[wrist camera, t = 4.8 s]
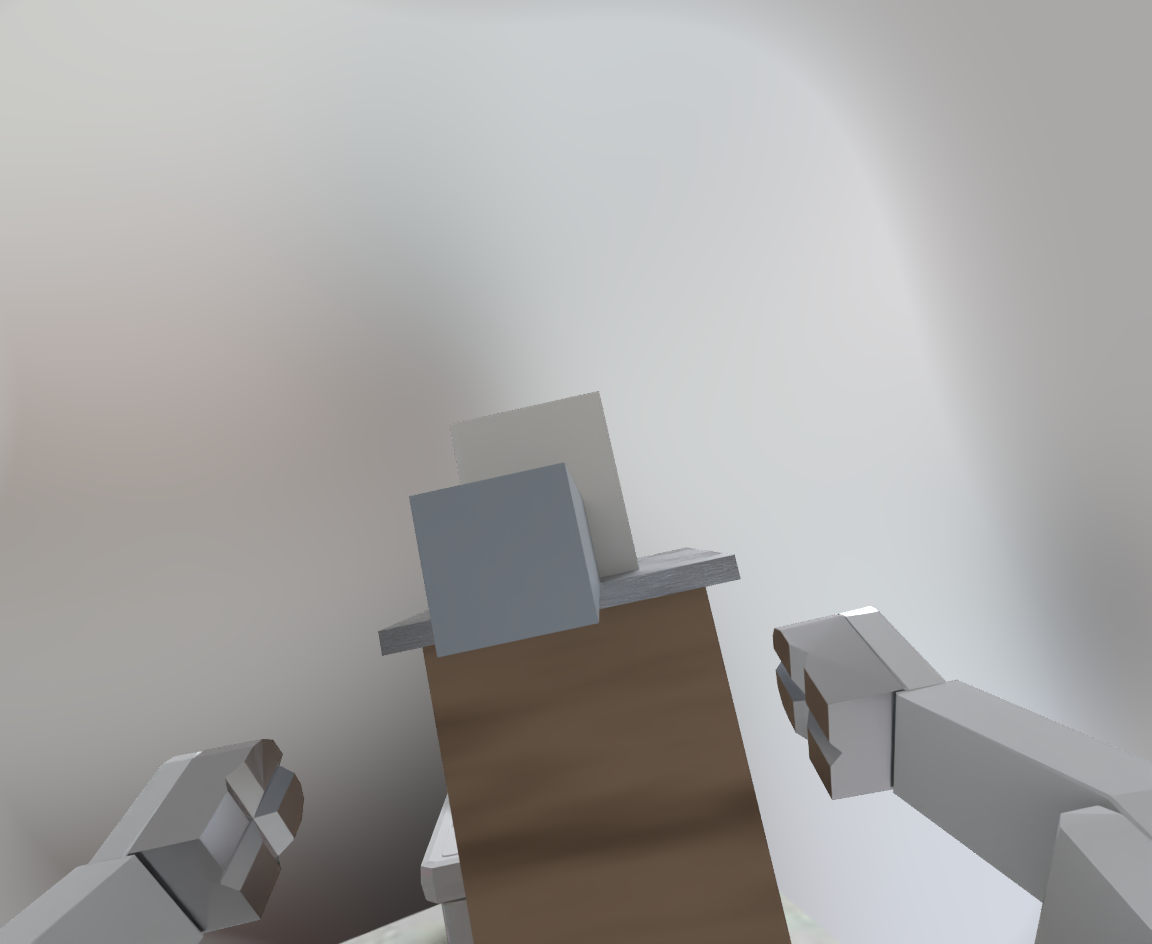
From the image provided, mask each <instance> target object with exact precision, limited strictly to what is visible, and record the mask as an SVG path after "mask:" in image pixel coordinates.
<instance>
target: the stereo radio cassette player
mask: <svg viewBox="0 0 1152 944" xmlns="http://www.w3.org/2000/svg"><path fill="white" fill-rule="evenodd" d="M421 885H422V888H423V891H424V894H425V897H426V900H428V901H431V902H434V903H441V904H442V910H443V916H444V922H445V928H446V934H447V940H448V944H474V942H473V937H472V931H471V925H470V919H469V913H468V908H467V902H466V896H465V890H464V885H463V879H462V873H461V867H460V861H459V856H458V850H457V844H456V838H455V832H454V827H453V821H452V815H451V809H450V804H449V798H448V794H447V797H446V800H445V802H444V805H443V808H442V811H441V813H440V816H439V818H438V821H437V824H436V827H435V829H434V832H433V835H432V838H431V840H430V843H429V846H428V848H427V851H426V854H425V856H424V859H423V862H422V865H421Z"/></svg>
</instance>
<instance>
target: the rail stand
mask: <svg viewBox="0 0 1152 944" xmlns="http://www.w3.org/2000/svg"><path fill="white" fill-rule="evenodd" d="M637 562H638V566H639V569H638V570H633V571H629V572H624V573H619V574H615V575H610V576H605V577H601V578H600V597H599V623H597V624H592V625H587V626H583V627H578V628H573V629H569V630H564V631H559V632H555V633H550V634H545V635H541V636H536V637H531V638H527V639H522V640H517V641H512V642H508V643H503V644H498V645H494V646H489V647H484V648H480V649H475V650H470V651H466V652H461V653H456V654H452V655H447V656H442V657H437V652H436V647H435V641H434V635H433V630H432V624H431V618H430V613H429V610H426V611H424V612H422V613H419V614H417V615H415V616H412V617H410V618H408V619H405V620H403V621H401V622H399V623H396V624H394V625H392V626H389V627H387V628H385V629H382V630H380V631H379V632H378V633H379V639H380V644H381V651H382V656H383V655H388V654H392V653H397V652H402V651H406V650H411V649H416V648H421V647H422V648H423V653H424V659H425V665H426V671H427V676H428V682H429V688H430V694H431V700H432V705H433V710H434V717H435V723H436V728H437V734H438V740H439V746H440V751H441V757H442V762H443V768H444V775H445V780H446V786H447V792H448V798H449V804H450V809H451V815H452V821H453V827H454V832H455V838H456V844H457V850H458V856H459V861H460V867H461V873H462V879H463V885H464V890H465V896H466V902H467V908H468V913H469V919H470V925H471V931H472V937H473V942H474V944H791V940H790V936H789V932H788V927H787V923H786V919H785V915H784V911H783V907H782V903H781V898H780V894H779V890H778V886H777V882H776V878H775V874H774V869H773V865H772V861H771V857H770V853H769V849H768V844H767V840H766V836H765V832H764V828H763V824H762V820H761V815H760V812H759V807H758V803H757V799H756V795H755V790H754V786H753V782H752V778H751V774H750V770H749V766H748V762H747V758H746V753H745V749H744V745H743V741H742V737H741V732H740V728H739V724H738V720H737V716H736V712H735V708H734V703H733V699H732V695H731V691H730V687H729V683H728V679H727V674H726V670H725V666H724V662H723V658H722V654H721V650H720V645H719V641H718V637H717V633H716V629H715V624H714V620H713V616H712V612H711V608H710V604H709V600H708V595H707V591H706V586H710V585H715V584H719V583H724V582H729V581H734V580H738V579H740V575H739V571H738V567H737V563H736V559H735V555H733V554H726V553H719V552H713V551H706V550H699V549H692V548H683V549H678V550H673V551H669V552H664V553H659V554H655V555H651V556H646V557H641V558H637Z"/></svg>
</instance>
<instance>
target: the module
mask: <svg viewBox="0 0 1152 944" xmlns="http://www.w3.org/2000/svg"><path fill="white" fill-rule="evenodd" d="M449 426H450V431H451V436H452V441H453V446H454V452H455V457H456V463H457V468H458V473H459V478H460V484H461V485H459V486H454V487H450V488H445V489H440V490H436V491H431V492H427V493H422V494H418V495H414V496H409V498H410V505H411V510H412V516H413V522H414V527H415V533H416V539H417V544H418V550H419V556H420V561H421V567H422V573H423V578H424V584H425V590H426V595H427V600H428V607H429V613H430V618H431V624H432V630H433V635H434V641H435V647H436V652H437V657H442V656H447V655H452V654H456V653H461V652H466V651H470V650H475V649H480V648H484V647H489V646H494V645H498V644H503V643H508V642H512V641H517V640H522V639H527V638H531V637H536V636H541V635H545V634H550V633H555V632H559V631H564V630H569V629H573V628H578V627H583V626H587V625H592V624H597V623H599V597H600V578H601V577H605V576H610V575H615V574H619V573H624V572H629V571H633V570H638V569H639V566H638V562H637V557H636V553H635V548H634V544H633V540H632V535H631V531H630V526H629V522H628V518H627V513H626V509H625V504H624V500H623V496H622V491H621V487H620V482H619V478H618V474H617V469H616V465H615V460H614V456H613V451H612V447H611V442H610V438H609V434H608V429H607V425H606V420H605V416H604V412H603V407H602V403H601V398H600V394H599V391H597V392H592V393H588V394H583V395H579V396H574V397H570V398H565V399H561V400H556V401H552V402H547V403H543V404H538V405H534V406H530V407H525V408H520V409H516V410H512V411H507V412H502V413H498V414H493V415H489V416H484V417H480V418H475V419H471V420H467V421H462V422H457V423H453V424H450V425H449Z"/></svg>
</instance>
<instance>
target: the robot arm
mask: <svg viewBox="0 0 1152 944" xmlns="http://www.w3.org/2000/svg"><path fill="white" fill-rule="evenodd" d="M773 644H774V649H775V651H776V653H777V655H778V656H779V658H780V660H781V663H780V665H779V666H778V668H777V669H776V676H777V684H778V689H779V693H780V696H781V700H782V704H783V706H784V709H785V711H786V714H787V716H788V718H789V720H790V722H791V724H792V726H793V728H794V730H795V732H796V733H798V734H799V735H801V736H802V737H804V738H806V739H807V740H808V745H809V758H810V760H811V762H812V764H813V765H814V767H815V769H816V771H817V773H818V775H819V777H820V778H821V780H822V782H823V784H824V786H825V788H826V790H827V791H828V793H829V795H830V797H831V799H832V800H836V799H841V798H847V797H853V796H858V795H864V794H869V793H875V792H881V791H886V790H891V789H893V792H894V794H896V795H897V796H899V797H900V798H901V799H903V800H904V801H905V802H907V803H908V804H909V805H911V806H912V807H913V808H915V809H916V810H918V811H919V812H920V813H922V814H923V815H924V816H926V817H927V818H928V819H930V820H931V821H932V822H934V823H935V824H937V825H938V826H939V827H941V828H942V829H943V830H945V831H946V832H947V833H949V834H950V835H952V836H953V837H954V838H955V839H957V840H959V841H960V842H961V843H962V844H964V845H965V846H966V847H968V848H969V849H970V850H972V851H973V852H974V853H976V854H977V855H979V856H980V857H981V858H983V859H984V860H985V861H987V862H988V863H989V864H991V865H992V866H994V867H995V868H996V869H998V870H999V871H1000V872H1002V873H1003V874H1004V875H1006V876H1007V877H1008V878H1010V879H1011V880H1013V881H1014V882H1015V883H1017V884H1018V885H1019V886H1021V887H1022V888H1023V889H1025V890H1026V891H1027V892H1029V893H1030V894H1031V895H1033V896H1034V897H1035V898H1037V899H1038V900H1040V901H1041V902H1042V903H1043V904H1042V909H1041V914H1040V920H1039V924H1038V929H1037V935H1036V939H1035V944H1152V763H1151V762H1149V761H1147V760H1144V759H1142V758H1140V757H1137V756H1135V755H1133V754H1130V753H1128V752H1126V751H1123V750H1121V749H1119V748H1116V747H1114V746H1112V745H1109V744H1107V743H1104V742H1102V741H1100V740H1097V739H1095V738H1093V737H1090V736H1088V735H1086V734H1083V733H1081V732H1079V731H1076V730H1074V729H1071V728H1069V727H1067V726H1065V725H1062V724H1060V723H1057V722H1055V721H1053V720H1050V719H1048V718H1045V717H1043V716H1041V715H1038V714H1036V713H1034V712H1032V711H1029V710H1027V709H1025V708H1022V707H1020V706H1017V705H1015V704H1013V703H1010V702H1008V701H1006V700H1003V699H1000V698H999V697H996V696H994V695H992V694H989V693H987V692H984V691H982V690H980V689H978V688H975V687H973V686H970V685H968V684H966V683H963V682H961V681H958V680H954V681H949V682H946V681H945V680H944V679H943V678H942V677H941V676H940V675H939V674H938V673H937V672H936V670H935V669H934V668H933V667H932V666H931V665H930V664H929V663H928V662H927V661H926V660H925V659H924V658H923V657H922V656H921V655H920V654H919V653H918V652H917V651H916V650H915V649H914V647H913V646H912V645H911V644H910V643H909V642H908V641H907V640H906V639H905V638H904V637H903V636H902V635H901V634H900V633H899V632H898V631H897V630H896V629H895V628H894V627H893V626H892V625H891V623H890V622H888V621H887V619H886V618H885V617H884V616H883V615H882V614H881V613H880V612H879V611H878V610H877V609H875V608H873V607H871V606H868V607H864V608H859V609H855V610H852V611H847V612H842V613H838V614H837V615H831V616H826V617H822V618H817V619H813V620H809V621H805V622H800V623H795V624H791V625H787V626H783V627H778V628H774V632H773ZM282 755H283V754H282V752H281V751H280V749H279V748H278V746H277V745H276V743H275V742H274V740H269V739H260V740H255V741H250V742H245V743H239V744H234V745H229V746H224V747H218V748H213V749H208V750H204V751H202V752H196V753H191V754H185V755H180V756H175V757H173V758H171V759H170V760H168V761H167V762H165V763H163V764H162V765H161V766H160V768H159V769H158V770H157V772H156V773H155V774H154V776H153V777H152V778H151V780H150V781H149V783H148V784H147V785H146V787H145V788H144V789H143V791H142V792H141V793H140V795H139V796H138V797H137V799H136V800H135V802H134V803H133V804H132V805H131V807H130V808H129V810H128V811H127V812H126V814H125V815H124V816H123V818H122V819H121V820H120V822H119V823H118V824H117V826H116V827H115V828H114V830H113V831H112V833H111V834H110V835H109V837H108V838H107V839H106V841H105V842H104V843H103V845H102V846H101V848H100V849H99V850H98V851H97V853H96V854H95V855H94V857H93V858H92V860H91V861H90V862H89V864H87V865H83V866H79V867H76V868H75V869H74V870H73V871H71V872H70V873H69V874H68V875H67V876H65V877H64V878H63V879H62V880H61V881H59V882H58V883H57V884H55V885H54V886H53V887H52V888H50V889H49V890H48V891H47V892H45V893H44V894H43V895H42V896H41V897H39V898H38V899H37V900H36V901H34V902H33V903H32V904H31V905H29V906H28V907H27V908H26V909H24V910H23V911H22V912H21V913H19V914H18V915H17V916H16V917H14V918H13V919H12V920H11V921H9V922H8V923H7V924H6V925H5V926H3V927H2V928H1V929H0V944H198V943H199V941H200V940H201V939H202V938H203V934H202V933H205V932H209V931H214V930H218V929H222V928H226V927H230V926H234V925H238V924H243V923H247V922H251V921H255V920H259V919H261V917H262V915H263V912H264V910H265V908H266V905H267V903H268V900H269V898H270V896H271V893H272V891H273V889H274V886H275V884H276V881H277V879H278V877H279V874H280V872H281V865H280V861H279V857H278V856H279V854H280V853H281V852H282V851H283V850H284V849H285V848H286V847H287V846H288V845H289V844H290V843H291V842H292V840H293V839H294V838H295V836H296V833H297V830H298V828H299V825H300V823H301V820H302V813H303V803H304V796H303V792H302V787H301V784H300V782H299V780H298V778H297V777H296V775H295V773H293V772H291V771H289V770H287V769H285V768H283V767H281V766H279V765H280V762H281V759H282Z"/></svg>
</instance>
